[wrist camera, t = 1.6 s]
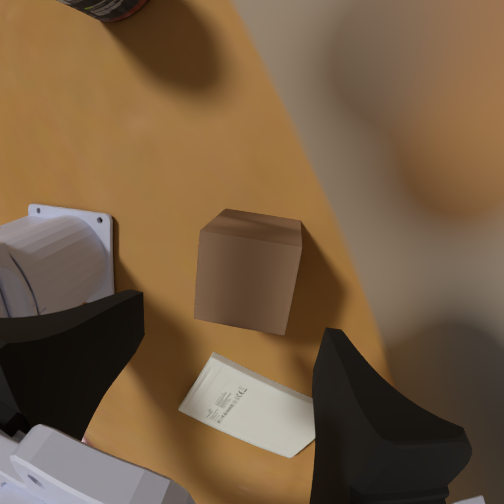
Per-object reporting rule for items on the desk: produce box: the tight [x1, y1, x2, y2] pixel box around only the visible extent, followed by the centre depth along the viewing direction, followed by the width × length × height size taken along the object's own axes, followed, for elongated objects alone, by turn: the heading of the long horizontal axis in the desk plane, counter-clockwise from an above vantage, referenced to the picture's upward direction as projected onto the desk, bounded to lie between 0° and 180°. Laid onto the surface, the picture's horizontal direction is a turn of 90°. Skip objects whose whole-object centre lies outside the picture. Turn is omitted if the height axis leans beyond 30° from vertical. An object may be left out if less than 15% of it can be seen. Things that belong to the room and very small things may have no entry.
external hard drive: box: [178, 352, 315, 458], centre depth 26 cm, size 2×8×12 cm
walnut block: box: [194, 209, 302, 335], centre depth 19 cm, size 5×5×6 cm
